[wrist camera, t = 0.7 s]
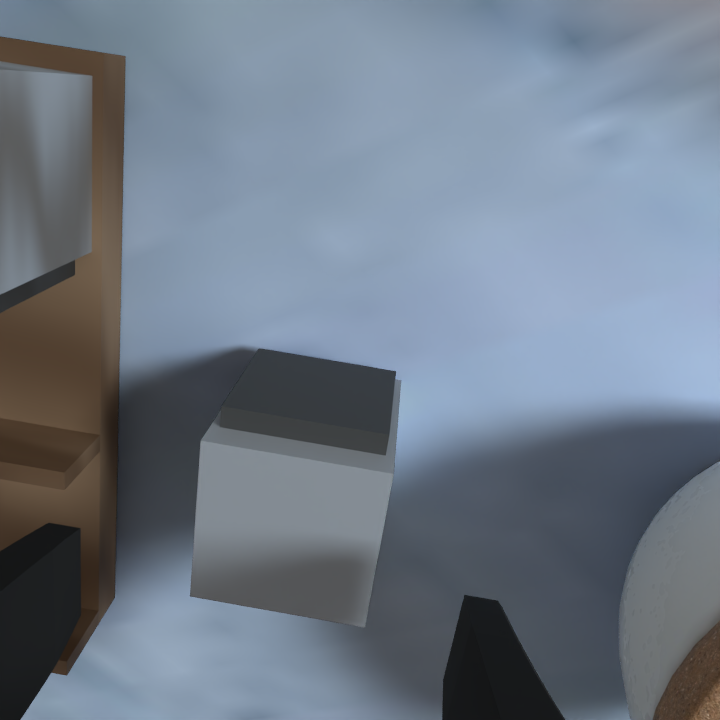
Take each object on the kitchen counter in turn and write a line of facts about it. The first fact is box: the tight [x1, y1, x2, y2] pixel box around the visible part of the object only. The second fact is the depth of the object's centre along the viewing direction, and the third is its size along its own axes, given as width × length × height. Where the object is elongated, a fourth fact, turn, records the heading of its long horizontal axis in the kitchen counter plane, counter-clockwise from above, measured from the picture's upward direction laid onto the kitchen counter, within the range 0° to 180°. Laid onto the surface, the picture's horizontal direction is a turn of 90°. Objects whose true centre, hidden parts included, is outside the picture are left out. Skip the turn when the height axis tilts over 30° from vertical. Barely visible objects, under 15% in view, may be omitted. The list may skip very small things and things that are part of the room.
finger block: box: [190, 349, 401, 628], centre depth 17 cm, size 4×4×5 cm
